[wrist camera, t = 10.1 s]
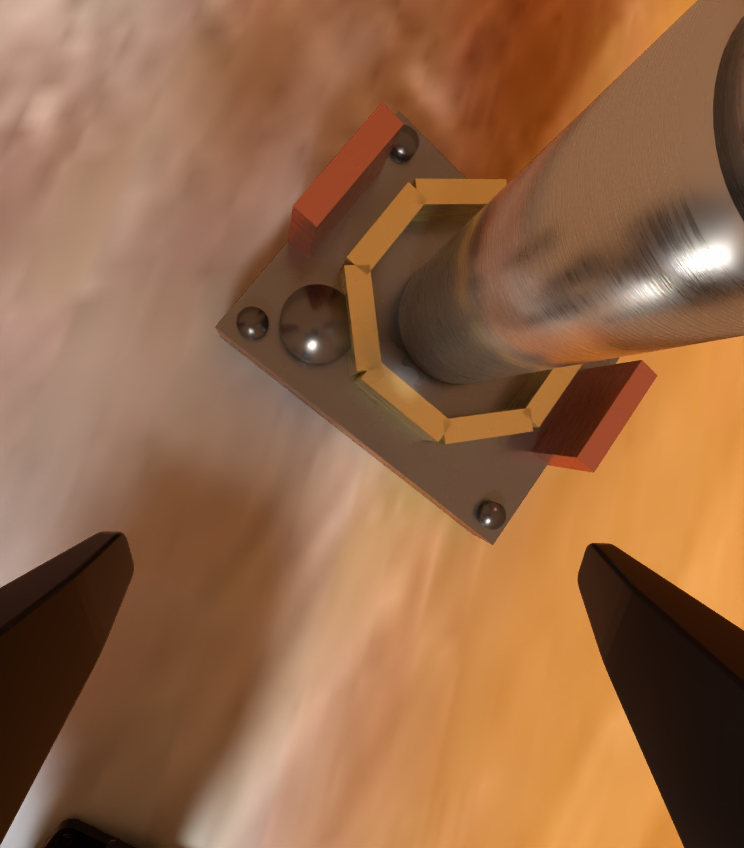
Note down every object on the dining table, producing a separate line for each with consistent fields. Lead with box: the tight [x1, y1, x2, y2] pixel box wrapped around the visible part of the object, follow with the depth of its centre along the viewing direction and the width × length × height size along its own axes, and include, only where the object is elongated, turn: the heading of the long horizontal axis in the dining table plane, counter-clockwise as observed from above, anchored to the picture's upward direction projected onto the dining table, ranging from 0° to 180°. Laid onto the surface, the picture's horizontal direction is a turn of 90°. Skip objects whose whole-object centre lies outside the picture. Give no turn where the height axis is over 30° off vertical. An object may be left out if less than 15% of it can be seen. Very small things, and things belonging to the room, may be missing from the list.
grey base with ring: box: [216, 103, 657, 545], centre depth 19 cm, size 12×15×5 cm
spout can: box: [398, 0, 744, 384], centre depth 13 cm, size 8×6×14 cm, turn 145°
